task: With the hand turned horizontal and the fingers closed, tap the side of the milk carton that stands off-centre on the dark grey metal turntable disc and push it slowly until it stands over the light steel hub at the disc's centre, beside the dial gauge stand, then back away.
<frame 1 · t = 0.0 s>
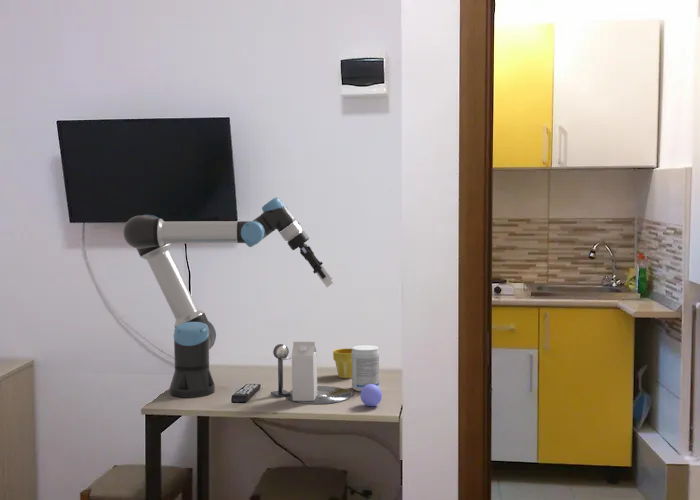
hand: (329, 283, 263), 36 cm above the table, tool tilted 35°, fingers open, 13 cm apart
supplement tub: (365, 389, 253), on the table
plant pot: (347, 376, 272), on the table
turntable: (319, 395, 245), on the table
dial gauge stand: (280, 395, 245), on the table
sphere: (371, 406, 232), on the table
milk carton: (305, 399, 239), resting on turntable
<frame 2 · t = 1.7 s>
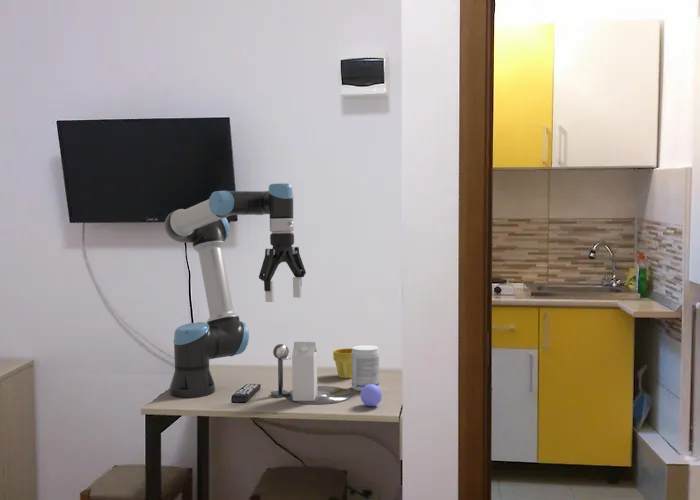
hand: (283, 299, 229), 34 cm above the table, tool pointing down, fingers open, 13 cm apart
nothing on the table moved.
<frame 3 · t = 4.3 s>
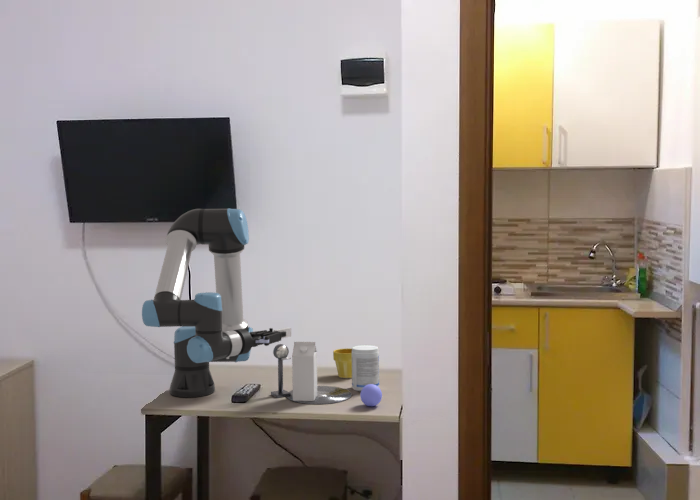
hand: (289, 331, 232), 24 cm above the table, tool horizontal, fingers closed
nothing on the table moved.
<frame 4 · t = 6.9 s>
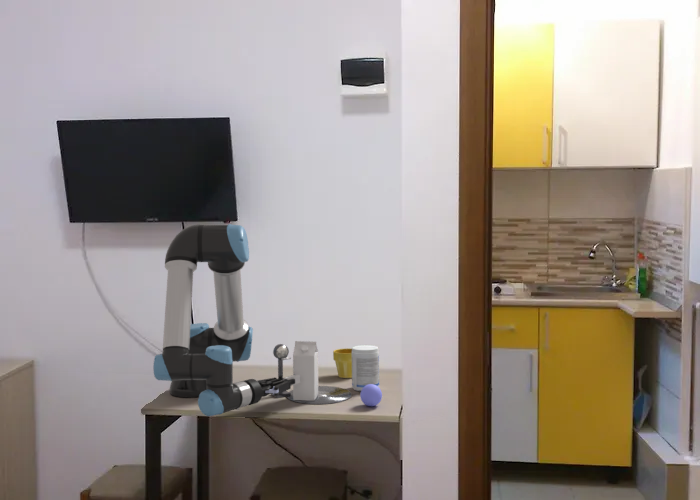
hand: (298, 378, 235), 8 cm above the table, tool horizontal, fingers closed
milk carton: (305, 398, 240), resting on turntable, touching gripper
everything else where it was.
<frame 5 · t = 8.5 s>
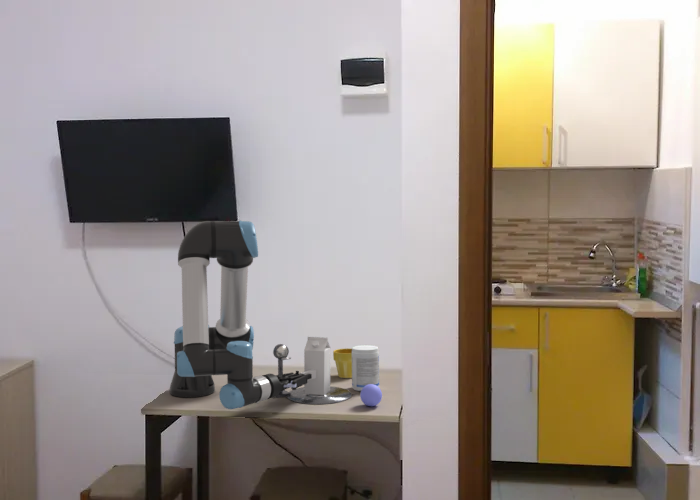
hand: (314, 373, 242), 8 cm above the table, tool horizontal, fingers closed
milk carton: (317, 393, 246), resting on turntable, touching gripper
everything else where it was.
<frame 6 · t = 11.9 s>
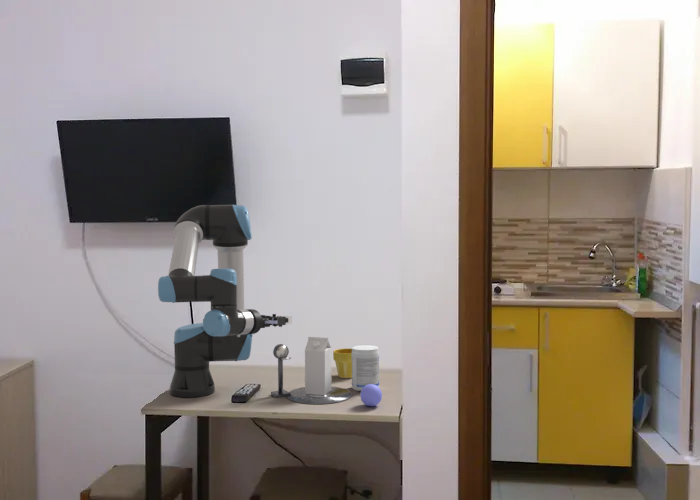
hand: (289, 319, 237), 27 cm above the table, tool horizontal, fingers closed
milk carton: (318, 392, 247), resting on turntable
everything else where it was.
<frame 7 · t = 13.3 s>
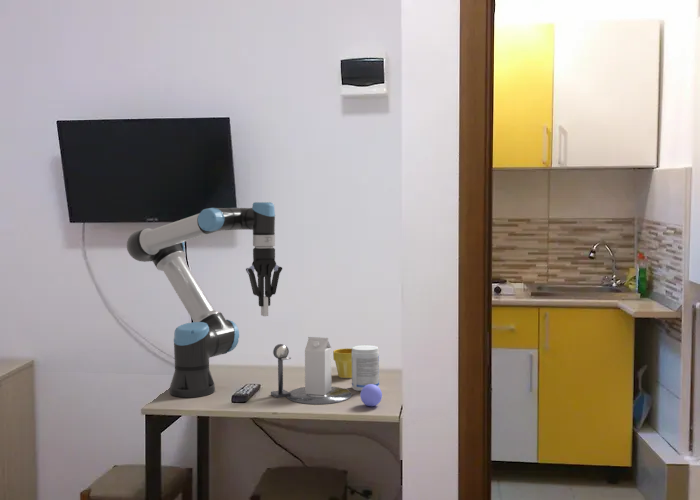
hand: (264, 315, 249), 26 cm above the table, tool pointing down, fingers closed
nothing on the table moved.
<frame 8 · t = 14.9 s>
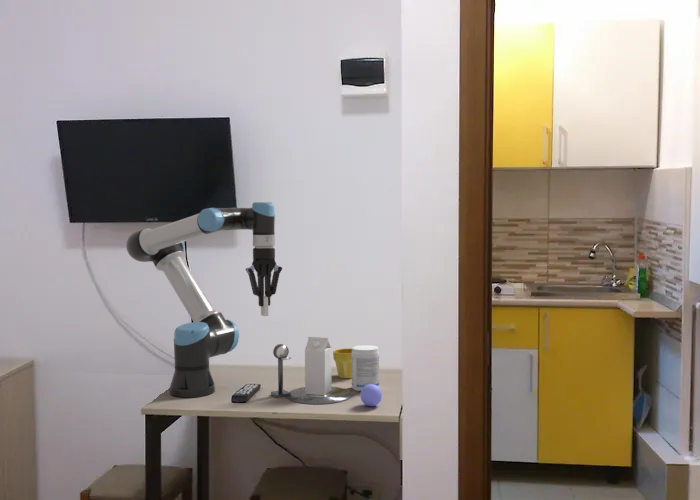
hand: (264, 315, 249), 26 cm above the table, tool pointing down, fingers closed
nothing on the table moved.
at the end: milk carton 2.2 cm from the turntable (horizontally); milk carton tilted 0°; milk carton moved 8.7 cm from its start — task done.
